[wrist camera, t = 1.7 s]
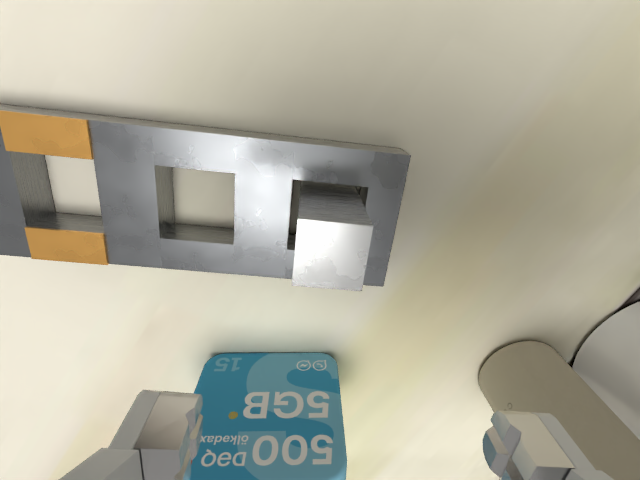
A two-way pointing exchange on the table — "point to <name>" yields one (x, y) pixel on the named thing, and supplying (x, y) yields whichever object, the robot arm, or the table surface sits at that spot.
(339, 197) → the steel peg
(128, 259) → the hole rail
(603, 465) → the travel mug
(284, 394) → the data package
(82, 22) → the table surface
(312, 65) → the table surface
